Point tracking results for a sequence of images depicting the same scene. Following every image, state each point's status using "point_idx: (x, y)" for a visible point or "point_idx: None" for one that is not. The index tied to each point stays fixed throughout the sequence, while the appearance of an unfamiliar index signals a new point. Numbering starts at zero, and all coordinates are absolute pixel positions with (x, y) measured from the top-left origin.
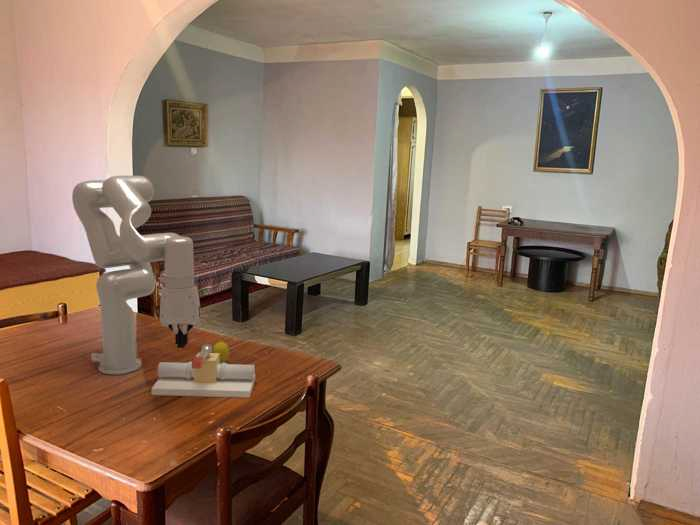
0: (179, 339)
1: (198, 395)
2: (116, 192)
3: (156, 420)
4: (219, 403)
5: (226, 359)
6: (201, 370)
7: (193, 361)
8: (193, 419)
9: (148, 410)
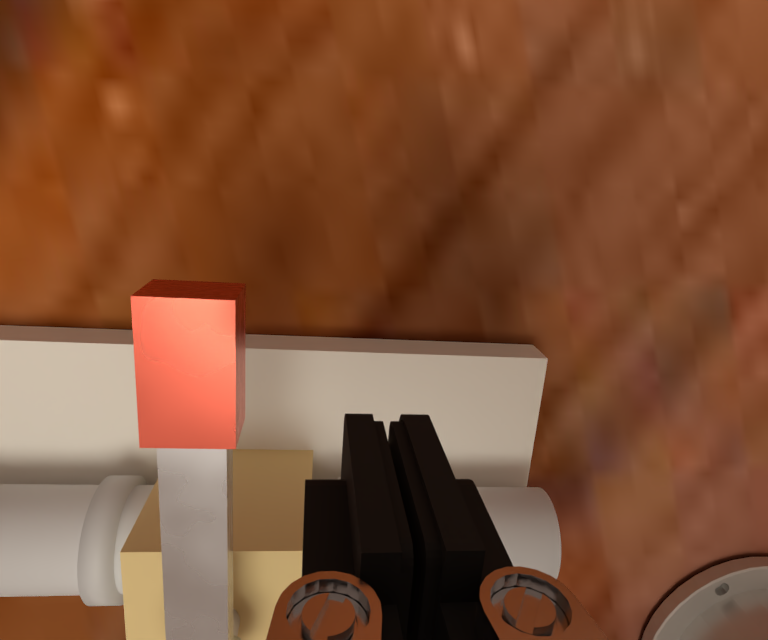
0: (417, 492)
1: (264, 336)
2: None
3: (449, 15)
4: (110, 242)
5: None
6: (255, 498)
7: (222, 323)
8: (222, 18)
9: (518, 153)
